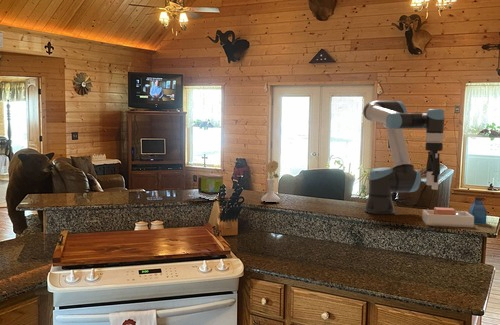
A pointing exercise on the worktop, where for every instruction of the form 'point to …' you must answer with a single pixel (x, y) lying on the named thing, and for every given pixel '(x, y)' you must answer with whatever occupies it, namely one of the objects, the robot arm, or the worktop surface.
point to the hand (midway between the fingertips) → (431, 187)
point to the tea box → (209, 184)
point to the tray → (448, 219)
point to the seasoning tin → (444, 211)
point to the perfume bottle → (478, 211)
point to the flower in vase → (271, 183)
